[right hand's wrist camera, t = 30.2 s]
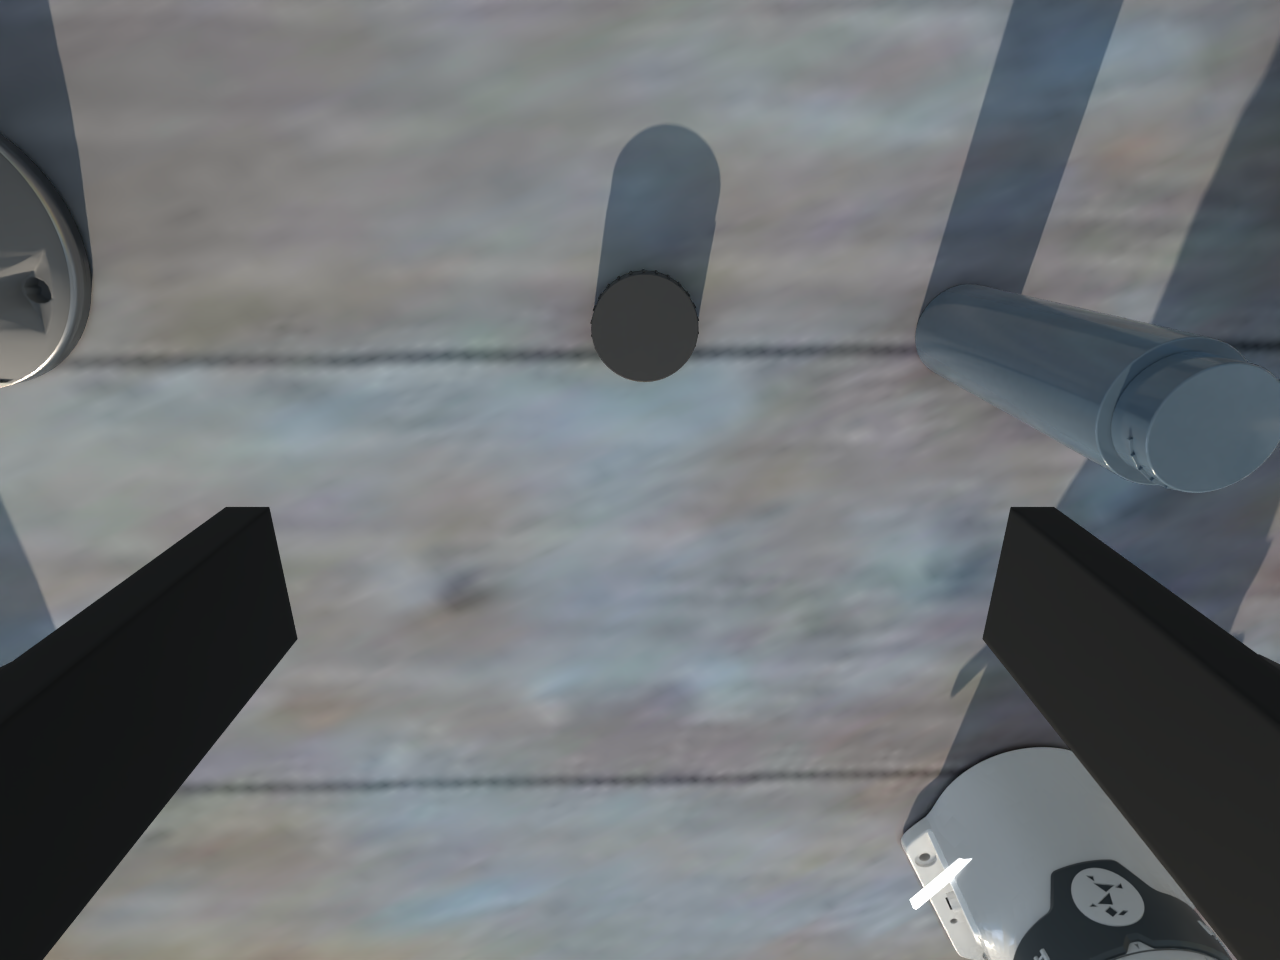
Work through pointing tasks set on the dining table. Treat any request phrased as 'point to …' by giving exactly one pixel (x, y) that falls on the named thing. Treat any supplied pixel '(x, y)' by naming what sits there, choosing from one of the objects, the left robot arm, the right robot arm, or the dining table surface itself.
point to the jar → (1108, 385)
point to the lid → (644, 326)
